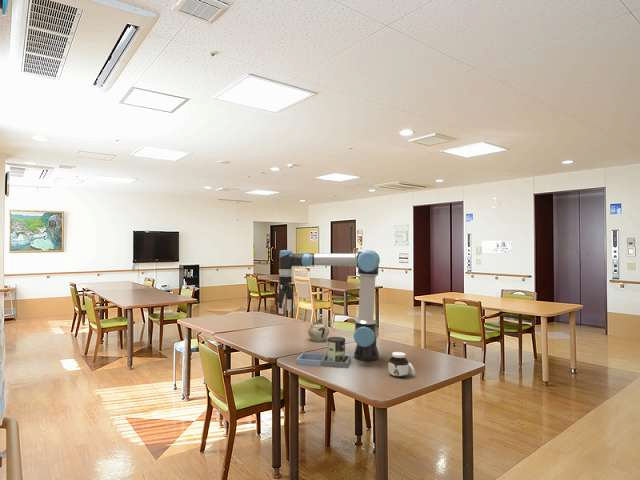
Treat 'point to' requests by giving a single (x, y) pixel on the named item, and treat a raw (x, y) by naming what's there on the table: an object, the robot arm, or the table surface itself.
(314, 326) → the sugar bowl
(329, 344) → the coffee can
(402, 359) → the spread jar
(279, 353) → the table surface
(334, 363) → the bay tray
